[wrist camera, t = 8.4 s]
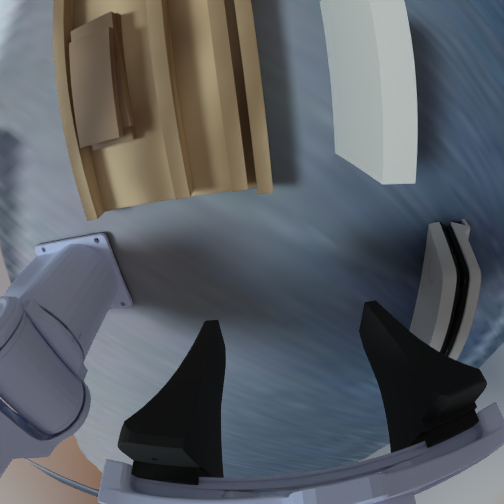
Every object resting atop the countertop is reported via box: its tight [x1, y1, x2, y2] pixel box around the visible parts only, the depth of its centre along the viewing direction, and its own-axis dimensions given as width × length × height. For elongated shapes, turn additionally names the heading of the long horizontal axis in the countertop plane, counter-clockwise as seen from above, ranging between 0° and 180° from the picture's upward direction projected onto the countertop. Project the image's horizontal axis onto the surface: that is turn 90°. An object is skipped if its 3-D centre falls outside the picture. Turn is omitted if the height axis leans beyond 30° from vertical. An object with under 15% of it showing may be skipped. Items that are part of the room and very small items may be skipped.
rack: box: [53, 0, 273, 221], centre depth 14 cm, size 14×20×3 cm
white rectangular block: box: [320, 0, 418, 184], centre depth 13 cm, size 2×12×8 cm, turn 7°
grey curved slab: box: [409, 219, 481, 360], centre depth 23 cm, size 17×5×10 cm, turn 11°
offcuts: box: [69, 11, 137, 151], centre depth 14 cm, size 4×10×2 cm, turn 6°
